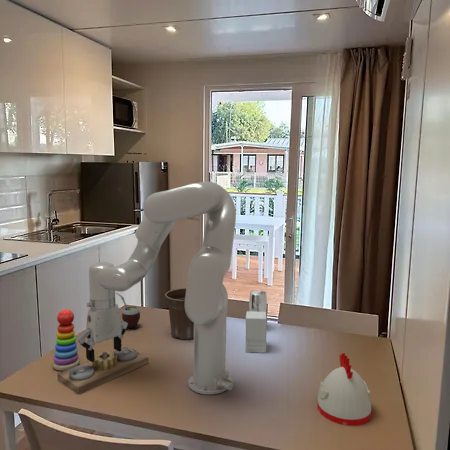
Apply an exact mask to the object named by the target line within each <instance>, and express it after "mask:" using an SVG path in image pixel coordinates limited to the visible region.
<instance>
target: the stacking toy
mask: <svg viewBox="0 0 450 450" xmlns="http://www.w3.org/2000/svg"><path fill="white" fill-rule="evenodd" d="M74 319H75V314H74V312H73V311H72V310H71V309H69V308H68V309H67V308H65V309H62V310H60V311H59V312H58V314H57V316H56V320H57V322H58V325H57V329H56V330H57V332H56V338H55V342H56V344H55V345H54V348H55V350H54V355H53V358H52V359H53V363H52V367H53V368H54V370H57V371H61V372H63V371H66V370H68V369H71V368H73V367H76V366H79V365H80V358H79V354H78V351H79V349H78V347H77V345H78V343H77V342H76V340H77V337H76V335H75V334H76V331H75V330H74V329H75V325H74V323H73V322H74Z"/></svg>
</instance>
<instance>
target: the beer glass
mask: <svg viewBox="0 0 450 450" xmlns="http://www.w3.org/2000/svg"><path fill="white" fill-rule="evenodd" d="M267 298H268V297H267V292H266V291H264V290H257V289H256V290H252V291H251V290H250V291H249V300H248V301H249V303H248V305H249V306H248V307H249V311H255V312H266V313H267V305H268V304H267V303H268V300H267Z"/></svg>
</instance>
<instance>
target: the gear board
mask: <svg viewBox="0 0 450 450" xmlns="http://www.w3.org/2000/svg"><path fill="white" fill-rule="evenodd" d="M102 352H103V351H102ZM102 352H101V353H102ZM107 352H108V351H105V352H103V353H102V358H107ZM113 352H115V354H117V364H116V365H117V366H116V367H113V369H107V371H104V370H101V371H98V369H96V370H95V369H94V368H93V364H92V362H91V361H89V360H88V361H86V362H84V363H82V364H79V365H78V366H76V367H73V368H71V369H68V370H66V371H61V372H58V373H57V381H58V382H60V383H61V384H63V385H65V386H66V387H68V388H69V389H71V390H72V391H74V392H75V393H77V394H78V395H80V394H83V393H85V392H87V391H89V390H91V389H94V388H96V387H99V386H100V385H103V384H105V383H107V382H109V381H111V380H114V379H116V378H119V377H121V376H123V375H125V374H127V373H130V372H132V371H134V370H135V369H138V368H141V367H144V366H145V365H148V364H149V357H148V356H146V355H144V354H142V353H140V352H138V351H137V350H136V349H134V348H129V347H127V346H125V347H121V351H120V352H119V351H117V350H115V351H113Z"/></svg>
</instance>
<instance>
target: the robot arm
mask: <svg viewBox="0 0 450 450" xmlns="http://www.w3.org/2000/svg"><path fill="white" fill-rule="evenodd" d="M142 209H143V215H144V217H143V218H142V220H141V222H140V223H139V225H138V227H137V228H136V230H135V233H134V234H135V237H136V239H137V242H136V246H135V247H134V249H133V252H132V254H131V255H130V257H129V258H128V260H127V261H125V262H123V263H121V264H119V265H116V266H114V264H113V263H112V262H109V261H108V262H107V261H101V262H99V261H98V262H95V263H92V264H91V265H90V266H89V268H88V284H89V285H88V286H89V287H88V288H89V301H88V302H87V303H86V307H87V308H88V310H87V315H86V329H85V331H84V332H82V333H81V334H80V335H79V336H78V337H76V340H77V341H78V343H79V344H80V345H81V346H82V347H83V348H85V358H86V359H87V361H88V362H89V361H91V362H94V361H95V357H94V355H95V349H94V346H95V345H96V344H100V343H103V342H105V341H109V340H111V339H113V349H114V350H115V351H119V352H120V351H121V349H122V345H123V344H122V340H123V338H124V335H125V333H126V331H127V330H126V328H127V325H128V323H127V322H124V321H123V320H122V316H121V312H120V308H119V305H118V304H117V303H116V292H121V293H122V292H125V291H127V290H130V289H131V288H132V287H134V286H135V285H137V284H139V283H140V282H141V281H143V280H144V278H145V277H146V275H147V274H148V272H149V271H150V270H151V268H152V266H153V265H154V264H155V261H156V259H157V258H158V255H159V252H160V251H161V246H162V245H163V243H164V241H165V240H166V238H167V237H168V235H169V234H170V232H171V231H172V229H173V227H174V226H175V224H176V222H177V221H181V220H185V219H189V218H193V217H198V216H202V215H205V214H206V221H205V225H204V228H203V229H204V231H203V240H202V245H201V247H200V248H201V249H200V250H199V251H198V252H197V253H196V254H194V256H193V258H192V259H191V262H190V264H189V268H188V273H187V281H186V287H185V288H186V295H185V311H186V314H187V316H188V318H189V319H190V320H191V321H192V322H194V338H193V373H192V375H190V377H188V380H187V384H188V387H189V389H191V390H192V391H193V392H195V393H198V394H200V395H209V396H210V395H217V394H221V393H225V392H226V391H227V390H228V391H232V390H233V387H234V384H235V381H236V380H235V379H233V378H231V377H230V376H229V371H228V370H226V365H227V364H226V361H227V360H226V356H227V353H226V351H227V346H226V345H227V317H228V316H227V315H228V306H229V305H228V304H229V293H228V291H227V288H226V286H225V285H224V284H223V283H224V277H225V276H226V274H228V272H229V270H230V267H231V262H232V253H233V246H234V238H235V236H234V235H235V231H236V230H235V228H236V218H237V213H236V212H237V211H236V206H235V202H234V200H233V198H232V196H231V194H230V193H229V191H227V190H226V189H225V188H224V187H223V186H221V185H220V184H219V183H216V182H212V181H200V182H195V183H189V184H186V185H184V186H179V187H176V188H175V187H174V188H171V189H168V190H167V189H166V190H162V191H158V192H153V193H152V194H150V195H149V196H147V198H146V199H145V201H144V204H143V208H142ZM85 339H87V340H86V341H85Z"/></svg>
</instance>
